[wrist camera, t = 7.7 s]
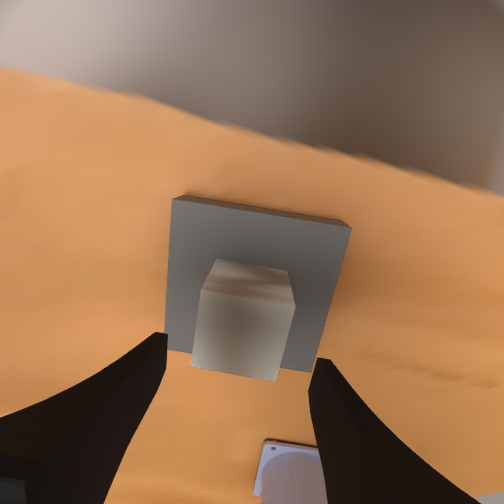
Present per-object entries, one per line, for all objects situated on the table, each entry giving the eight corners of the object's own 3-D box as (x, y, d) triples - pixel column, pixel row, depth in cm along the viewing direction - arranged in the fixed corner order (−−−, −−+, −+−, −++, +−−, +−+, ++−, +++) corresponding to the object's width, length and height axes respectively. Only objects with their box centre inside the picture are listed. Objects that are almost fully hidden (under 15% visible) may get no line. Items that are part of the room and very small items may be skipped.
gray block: (287, 270, 18) (295, 306, 14) (272, 330, 20) (275, 381, 15) (217, 257, 18) (200, 289, 13) (208, 318, 20) (190, 366, 15)
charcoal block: (339, 219, 20) (351, 227, 17) (305, 348, 24) (311, 372, 21) (185, 194, 20) (171, 198, 17) (175, 327, 24) (163, 349, 21)
